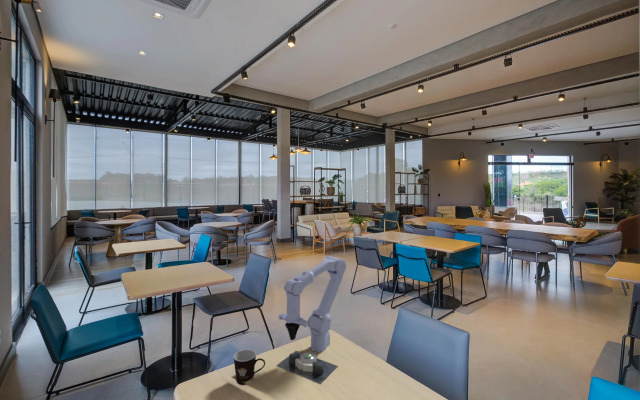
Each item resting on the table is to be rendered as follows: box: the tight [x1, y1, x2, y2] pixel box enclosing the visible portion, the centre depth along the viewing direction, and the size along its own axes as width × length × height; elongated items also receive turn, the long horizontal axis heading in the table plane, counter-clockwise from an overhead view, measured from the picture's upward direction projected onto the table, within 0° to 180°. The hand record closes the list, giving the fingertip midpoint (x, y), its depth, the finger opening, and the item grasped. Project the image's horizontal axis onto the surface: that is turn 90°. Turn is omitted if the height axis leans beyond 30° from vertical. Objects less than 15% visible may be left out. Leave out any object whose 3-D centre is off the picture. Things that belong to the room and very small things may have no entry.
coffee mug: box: [233, 348, 266, 386], centre depth 118 cm, size 12×9×10 cm
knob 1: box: [289, 352, 303, 370], centre depth 127 cm, size 8×4×3 cm, turn 35°
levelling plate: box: [275, 350, 339, 385], centre depth 127 cm, size 14×22×6 cm, turn 58°
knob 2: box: [303, 362, 323, 375], centre depth 123 cm, size 8×4×3 cm, turn 81°
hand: (292, 339), depth 131 cm, fingers closed
